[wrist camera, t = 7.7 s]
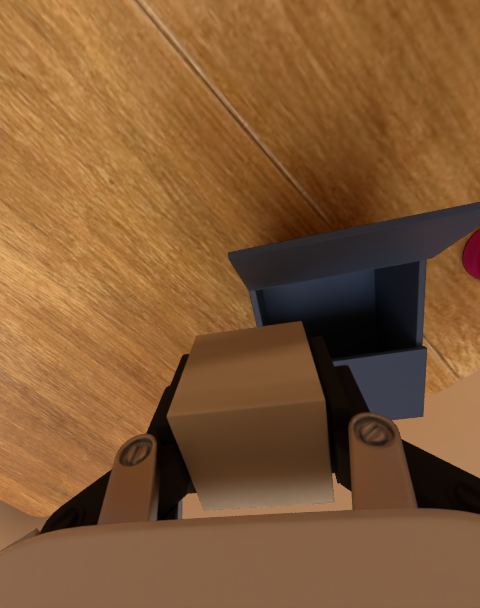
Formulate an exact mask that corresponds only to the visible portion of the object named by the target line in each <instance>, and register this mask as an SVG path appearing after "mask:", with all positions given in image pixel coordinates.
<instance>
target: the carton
mask: <svg viewBox="0 0 480 608" xmlns="http://www.w3.org/2000/svg"><path fill="white" fill-rule="evenodd" d="M426 261H427V259H424V260H418V261H413V262H407V263H402V264H396V265H391V266H385V267H380V268H374V269H368V270H363V271H357V272H352V273H346V274H341V275H335V276H330V277H324V278H319V279H313V280H307V281H302V282H296V283H291V284H285V285H280V286H274V287H269V288H263V289H258V290H252V291H249V293H250V297H251V302H252V306H253V311H254V316H255V320H256V325H257V327H262V326H269V325H276V324H284V323H291V322H298V321H302V324H303V327H304V330H305V334H306V337H307V340H308V341H309V338H312V337H320V336H322V337H323V339H324V342H325V344H326V347H327V349H328V352H329V354H330V357H331V360H332V362H333V365H334V366H341V365H348V366H349V368H350V370H351V372H352V374H353V376H354V378H355V380H356V383H357V385H358V387H359V389H360V391H361V393H362V395H363V397H364V400H365V402H366V404H367V406H368V408H369V410H370V412H373V413H378V414H381V415H383V416H386V417H387V418H389V419H390V420H398V419H406V418H416V417H423V411H424V394H425V377H426V360H427V348H426V347H425V346H422V342H423V322H424V301H425V281H426Z"/></svg>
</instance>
